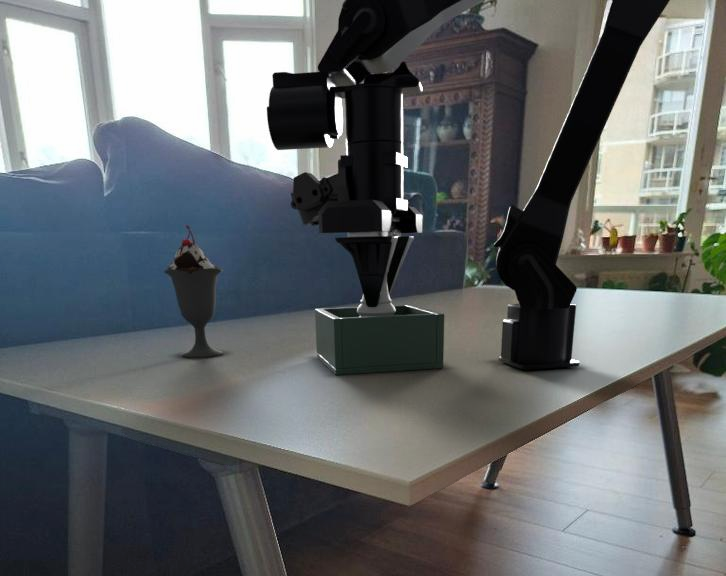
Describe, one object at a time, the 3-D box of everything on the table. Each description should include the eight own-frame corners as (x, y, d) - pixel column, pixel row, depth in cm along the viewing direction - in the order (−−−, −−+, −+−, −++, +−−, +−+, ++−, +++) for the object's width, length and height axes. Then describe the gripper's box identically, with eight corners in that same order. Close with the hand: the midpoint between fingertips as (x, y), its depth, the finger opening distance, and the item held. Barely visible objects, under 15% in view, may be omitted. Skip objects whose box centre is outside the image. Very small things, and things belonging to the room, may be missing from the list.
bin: (411, 352, 81) (411, 304, 79) (443, 368, 70) (444, 313, 68) (316, 357, 78) (314, 308, 77) (335, 375, 68) (333, 318, 66)
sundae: (206, 348, 87) (194, 225, 82) (240, 353, 83) (229, 223, 78) (163, 355, 82) (147, 225, 77) (197, 360, 78) (182, 223, 73)
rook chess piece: (394, 326, 70) (393, 246, 68) (352, 326, 71) (350, 247, 68) (398, 321, 75) (398, 245, 72) (359, 321, 75) (357, 246, 73)
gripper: (329, 159, 78) (335, 298, 83) (261, 138, 61) (273, 313, 66) (423, 153, 74) (422, 298, 80) (379, 129, 58) (381, 314, 63)
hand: (377, 305), depth 72 cm, fingers closed on rook chess piece, 3 cm apart
